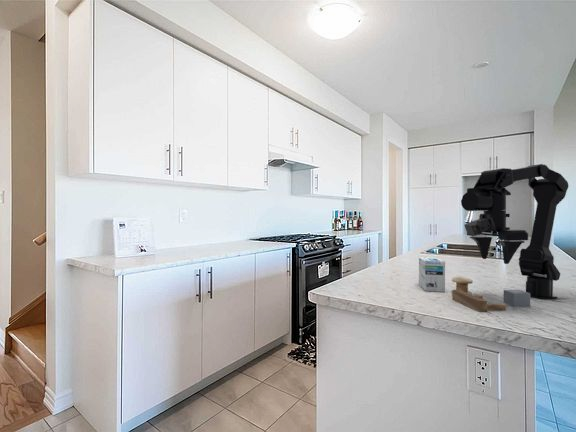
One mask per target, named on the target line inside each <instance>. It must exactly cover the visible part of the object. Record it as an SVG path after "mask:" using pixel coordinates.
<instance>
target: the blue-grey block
mask: <svg viewBox="0 0 576 432" xmlns="http://www.w3.org/2000/svg"><path fill="white" fill-rule="evenodd" d="M502 300H503V301H502V302H503V303H502V304H504V305H508V306H511V307H515V308H518V307H519V308H522V307H524V308H525V307H527V308H529V307H531V296H530V293H528V292H526V290H525V291H524V290H521V289H503V299H502Z"/></svg>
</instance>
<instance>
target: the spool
mask: <svg viewBox="0 0 576 432" xmlns="http://www.w3.org/2000/svg"><path fill="white" fill-rule="evenodd" d="M451 281H452V282H453V283H456V285H455V288H456V289H455V290H461V291H464V292H466V293H469V294H471V295H473V292H472V291H470V290H469V284H473V279H471V278H467V277H457V276H456V277H455V276H454V277H452V278H451Z"/></svg>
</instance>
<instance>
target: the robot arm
mask: <svg viewBox="0 0 576 432" xmlns="http://www.w3.org/2000/svg"><path fill="white" fill-rule="evenodd" d="M537 178H539V179H537ZM522 180H524V181H525V180H528V186H529V187H530V189H532V196H533V197H534V199H535V201H536V203H537V204H536V209H535V214H534V219H533V225H532V231H531V234H530V235H531V236H530V240H529V232H528V231H527V230H525V229H511V227H507V218H511V217H510V216H511V214H510V213H507V196H511V194H512V193H511V192H510V191H509V190H508V189H507V188H508V186H509V187H510V186H511V185H513V184H514V183H515V182H517V181H518V182H519V181H522ZM568 189H569V182H568V180H566V178H565V177H564V176H563V175H562V174H561V173H559V172H557V171H556V170H555V171H554V170H552V169H551V168H549V167H548V166H547V165H546V164H543V163H540V164H533V165H528V166H525V167H521V168H520V167H519V168H513V169H512V168H508V167H507V168H503V167H502V168H495V169H488V170H484V171H481V173H480V176H479V177H478V179H477V181H476V183H475V185H474V186H473V187H470V188H469V187H468V188H467V189H466V192H465V193H464V194H463V195H462V197H461V199H460V200H461V201H460V203H461V206H462V208H463V209H464V210H465V211H467V212H477V211H478V212H482V211H483V213H480V214H479V217H478V219H476V220H473V221H469V222H467V223H465V224H464V229H465V231H466V236H469V238H470V239H472V241H474V242H475V243H476V245H477V248H478V251H479V252H480V255H481V258H482V259H483V260H487V258H488V256H489V251H490V247H491V244H492V239H493V237H498V239H499V240H497V242H498V243H499V245H501V248H502V261H503V264H504V265H508V264H509V263H510V262H511V260H512V259H513V257H514V255H515V253H516V252H517V251H518V249H519V248H520V247H521V245H522V244H523V243H525V241H529V245H528V246H527V247H526V248H521V250H520V253H519V258H518V265H519V269H520V273H521V276H524V277H525V276H526V281H525V292H528V293H530V297H533V298H536V299H541V300H543V299H547V300H548V299H558V296H556V295H554V292H553V291H554V290H553V289H554V281H555V282H557V281H559V280H560V277H561V272H560V270H559V269H558V267H556V265H555V264H554V262H555V260H554V259H555V258H554V255H553V253H552V252H551V250H550V243H551V239H552V233H553V228H554V222H555V217H556V211H557V207H558V205H559V204H560V203H561V202H562V201H563V200H564V199H565V197H566V195H567V192H568Z"/></svg>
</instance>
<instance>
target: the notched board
mask: <svg viewBox="0 0 576 432" xmlns="http://www.w3.org/2000/svg"><path fill="white" fill-rule="evenodd" d="M451 294H452V301H455V302H457V303H459V304H461V305H463V306H465V307H467V308H470V309H472V310H474V311H476V312H478V313H488V312H489V311H490V312H491V311H492V312H495V311H496V312H497V311H500V312H501V311H506V309H507V306H506V305H507V304H505V303H488V300H486V299H484V296H483V295H480V294H472V295H471V294H469V293H466V292H464V291H461V290H456V289H452V290H451Z"/></svg>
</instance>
